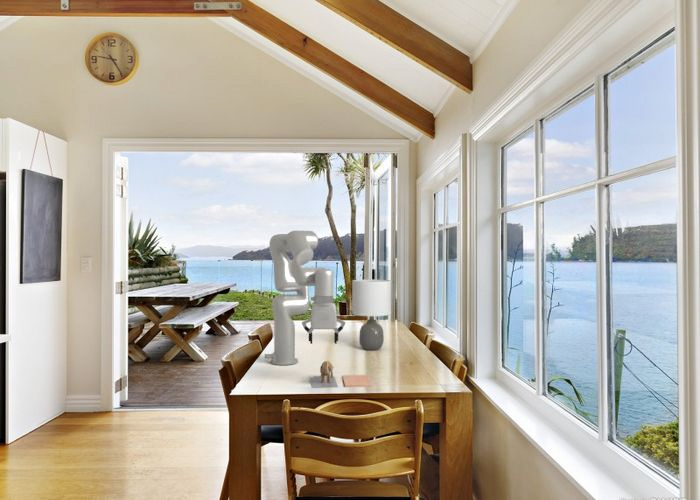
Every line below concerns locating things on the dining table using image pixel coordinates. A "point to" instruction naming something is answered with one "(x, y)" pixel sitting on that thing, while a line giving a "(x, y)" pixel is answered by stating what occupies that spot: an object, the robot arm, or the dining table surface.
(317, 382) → the slate tile
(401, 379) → the dining table surface
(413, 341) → the dining table surface
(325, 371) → the lion figurine
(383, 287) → the lamp
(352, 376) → the terracotta tile
